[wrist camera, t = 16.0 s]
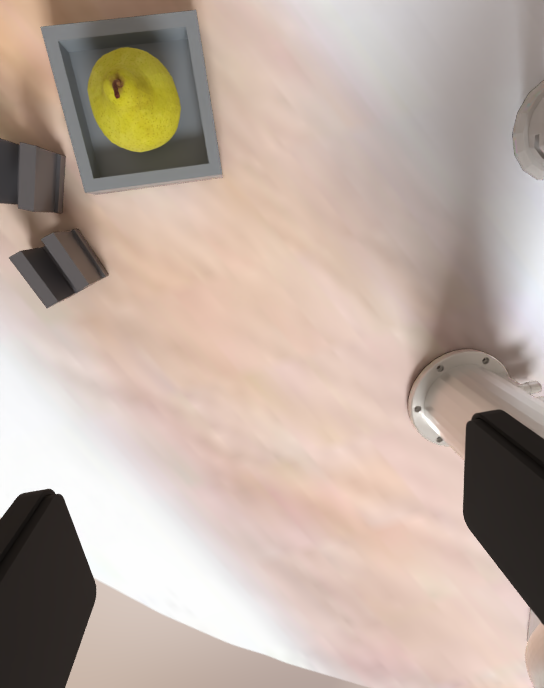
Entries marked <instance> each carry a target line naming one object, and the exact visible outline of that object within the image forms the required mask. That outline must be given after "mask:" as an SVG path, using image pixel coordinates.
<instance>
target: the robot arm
mask: <svg viewBox="0 0 544 688" xmlns="http://www.w3.org/2000/svg"><path fill="white" fill-rule="evenodd" d="M541 390H542V388H541V384H540V383H539V382H538V381H532V382H526V383H524V384H520V383H518V382H516V381H515V380H513V379H511V378H510V377H509V374H508V372H507V370H506V368H505V367H504V365H503V364H502V363H501V362H500V361H499V360H497V359H496V358H494V357H493V356H491V355H489V354H487V353H485V352H482V351H478V350H474V349H462V350H456V351H452V352H450V353H447V354H444V355H442V356H440V357H439V358H437V359H435V360H434V361H433V362H431V363H430V364H429V365H427V366H426V367H425V369H424V370H423V371H422V372H421V373H420V374H419V376H418V377H417V379H416V380H415V382H414V384H413V386H412V389H411V391H410V395H409V399H408V411H409V417H410V419H411V422H412V424H413V426H414V427H415V428H416V430H417V431H418V432H419V433H420V434H421V435H422V436H423V437H424V438H425V439H427V440H428V441H430V442H432V443H434V444H436V445H440V446H446V447H451V448H452V449H453V450H454V451H455V452H456V453H457V454H458V455H459V456H460V457H461V458H462V459H463V460H464V462H465V467H464V498H463V515H464V519H465V522H466V524H467V526H468V528H469V529H470V531H471V532H472V533H473V535H474V536H475V537H476V538H477V540H478V541H479V542H480V544H481V545H482V546H483V548H484V549H485V550H486V551H487V553H488V554H489V555H490V557H491V558H492V559H493V560H494V562H495V563H496V564H497V566H498V567H499V568H500V570H501V571H502V572H503V573H504V575H505V576H506V577H507V579H508V580H509V581H510V582H511V584H512V585H513V586H514V588H515V589H516V590H517V592H518V593H519V594H520V595H521V597H522V598H523V599H524V601H525V602H526V603H527V604H528V606H529V607H530V608H531V610H532V611H533V612H534V614H535V615H536V616H537V617H538V619H539V620H540V621H541V622H540V624H539V625H538V626H537V628H536V629H535V630H534V631H533V633H532V634H531V636H530V638H529V640H528V643H527V646H526V652H525V659H526V667H527V671H528V674H529V677H530V680H531V682H532V684H533V686H534V688H544V396H541V397H534V396H533V395H531V394H534V393H539V392H541ZM95 598H96V584H95V581H94V578H93V575H92V573H91V570H90V567H89V565H88V562H87V559H86V557H85V554H84V551H83V549H82V546H81V543H80V541H79V538H78V535H77V533H76V530H75V527H74V524H73V522H72V519H71V516H70V514H69V511H68V508H67V506H66V503H65V500H64V498H63V496H62V495H61V494H55V492H54V491H53V490H52V489H45V490H39V491H33V492H28V493H23V494H20V495H19V496H18V497H17V498H16V500H15V501H14V502H13V503H12V505H11V506H10V507H9V509H8V510H7V511H6V513H5V514H4V515H3V517H2V518H1V519H0V688H65V686H66V683H67V680H68V677H69V675H70V672H71V669H72V666H73V663H74V660H75V657H76V654H77V652H78V649H79V646H80V643H81V640H82V637H83V634H84V631H85V628H86V626H87V623H88V620H89V617H90V614H91V611H92V608H93V606H94V602H95Z"/></svg>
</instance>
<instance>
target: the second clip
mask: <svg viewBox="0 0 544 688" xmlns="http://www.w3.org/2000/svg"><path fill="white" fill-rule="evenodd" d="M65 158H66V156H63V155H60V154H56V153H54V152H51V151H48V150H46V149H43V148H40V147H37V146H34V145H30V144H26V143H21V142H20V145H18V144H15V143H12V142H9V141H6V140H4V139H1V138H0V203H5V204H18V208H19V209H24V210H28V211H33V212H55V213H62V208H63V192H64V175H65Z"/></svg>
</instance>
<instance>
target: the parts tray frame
mask: <svg viewBox="0 0 544 688" xmlns="http://www.w3.org/2000/svg"><path fill="white" fill-rule="evenodd" d="M540 622H541V621H540V620H539V619H538V617H537V616H536V615H535V614H534V612H533V611H532V610H530V619H529V628H528V636H527V642H528V640H529V638H530V636H531V634H532V633H533V631H534V630H535V629H536V628H537V626H538V625H539V624H540Z"/></svg>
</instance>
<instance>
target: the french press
mask: <svg viewBox="0 0 544 688" xmlns="http://www.w3.org/2000/svg"><path fill="white" fill-rule="evenodd" d="M512 136H513V145H514V154H515V156H516V158H517V160H518V162H519V164H520V166H521V167H522V169H523V171H525V172H526V173H528V174H529V175H531V176H532V177H534V178H535V179H537V180H544V80H543V81H542V82H541V83H540V84H539V85H538V86H537V87H536V88H534V89H533V90H532V91H531V92H530V93H529V94H528V96H527V97H526V99H525V101H524V103H523V104H522V106H521V108H520V109H519V111H518V113H517V117H516V121H515V125H514V130H513V134H512Z"/></svg>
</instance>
